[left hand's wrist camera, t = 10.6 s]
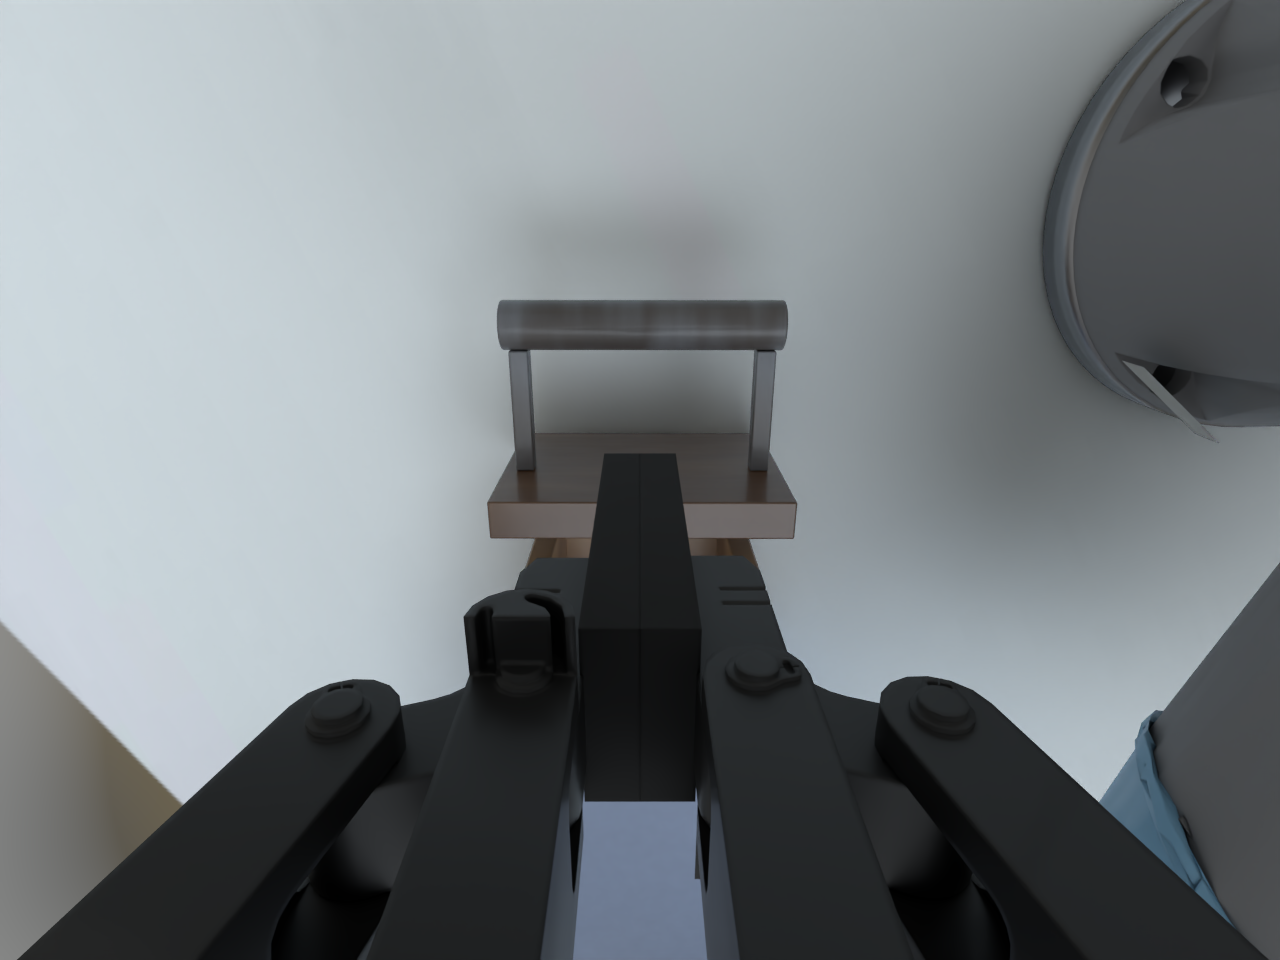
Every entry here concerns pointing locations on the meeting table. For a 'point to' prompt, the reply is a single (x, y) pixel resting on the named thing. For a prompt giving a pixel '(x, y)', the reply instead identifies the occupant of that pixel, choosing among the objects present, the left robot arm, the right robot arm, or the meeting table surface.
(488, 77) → the meeting table surface
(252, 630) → the meeting table surface
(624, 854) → the cabinet
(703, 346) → the drawer
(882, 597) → the meeting table surface
